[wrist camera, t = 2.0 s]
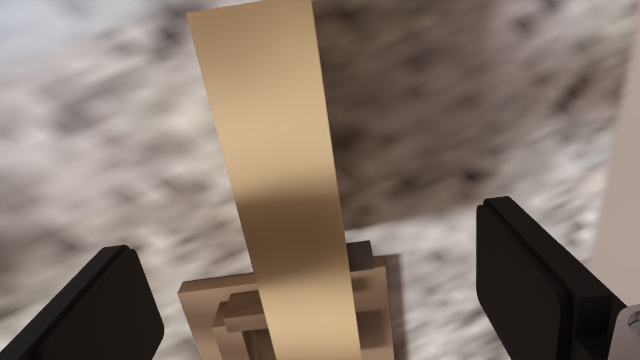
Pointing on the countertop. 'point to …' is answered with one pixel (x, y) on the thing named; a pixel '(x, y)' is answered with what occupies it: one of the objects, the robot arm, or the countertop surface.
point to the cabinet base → (250, 322)
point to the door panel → (283, 171)
